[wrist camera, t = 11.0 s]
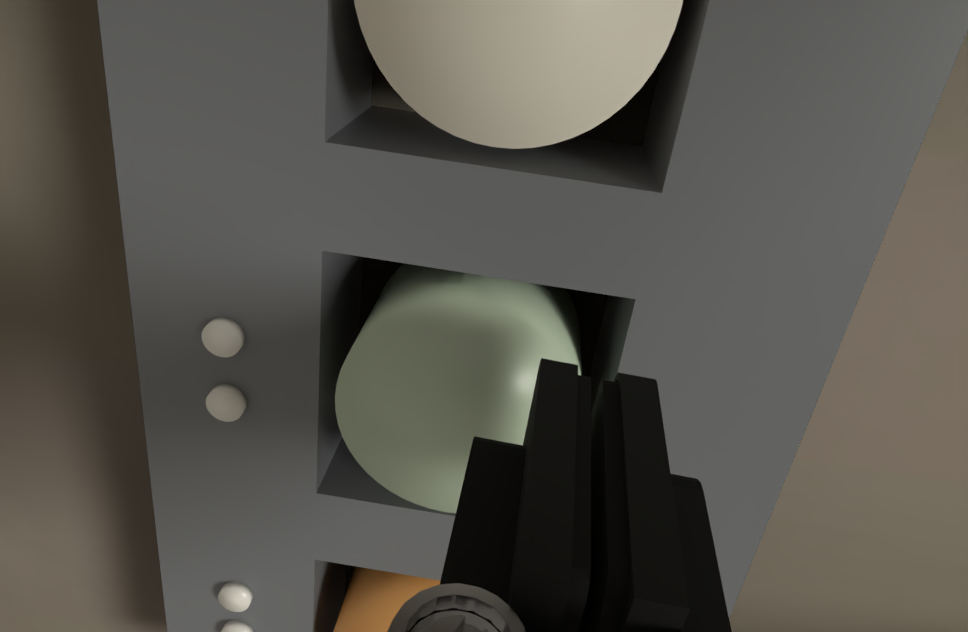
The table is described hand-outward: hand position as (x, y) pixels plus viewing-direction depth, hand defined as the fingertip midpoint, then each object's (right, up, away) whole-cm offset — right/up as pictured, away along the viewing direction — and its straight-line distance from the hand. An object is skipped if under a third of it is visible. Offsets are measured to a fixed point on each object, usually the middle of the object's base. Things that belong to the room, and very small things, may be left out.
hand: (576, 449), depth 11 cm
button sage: (-2, +2, +5) cm, 5 cm away
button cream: (-1, +8, +1) cm, 8 cm away
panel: (-1, +2, +5) cm, 5 cm away
